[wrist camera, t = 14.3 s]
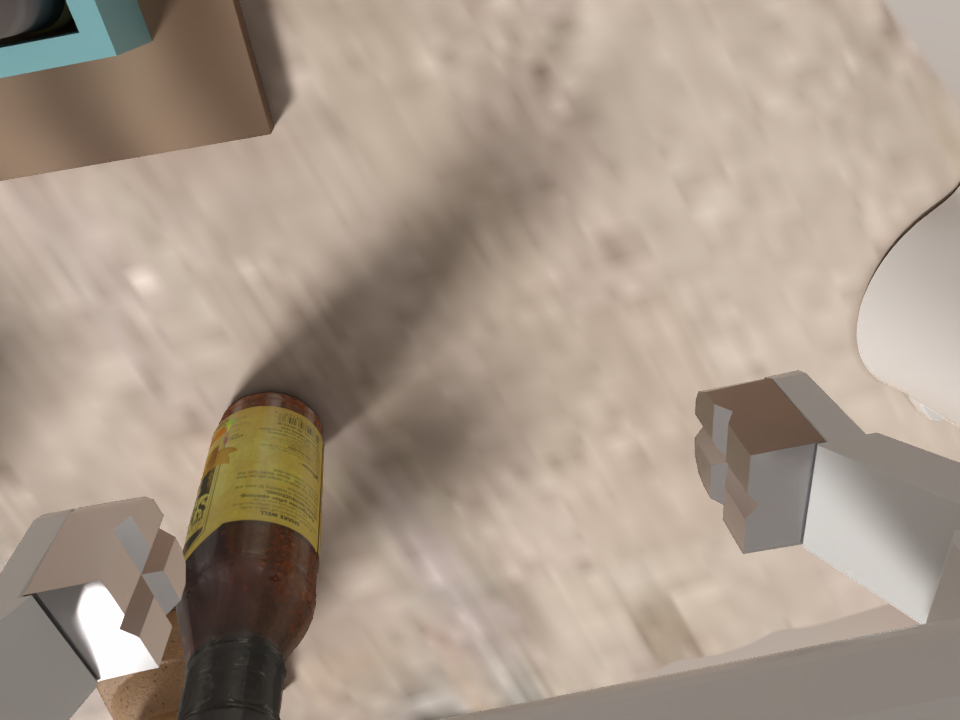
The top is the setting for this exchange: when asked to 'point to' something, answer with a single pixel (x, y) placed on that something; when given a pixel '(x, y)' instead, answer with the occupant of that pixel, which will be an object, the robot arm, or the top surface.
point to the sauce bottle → (251, 558)
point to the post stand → (130, 89)
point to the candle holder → (150, 685)
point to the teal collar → (80, 38)
